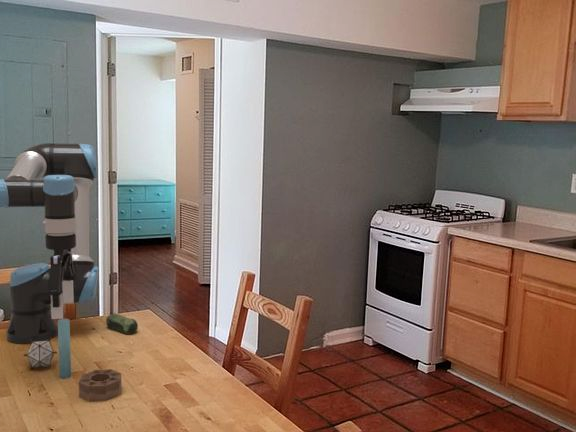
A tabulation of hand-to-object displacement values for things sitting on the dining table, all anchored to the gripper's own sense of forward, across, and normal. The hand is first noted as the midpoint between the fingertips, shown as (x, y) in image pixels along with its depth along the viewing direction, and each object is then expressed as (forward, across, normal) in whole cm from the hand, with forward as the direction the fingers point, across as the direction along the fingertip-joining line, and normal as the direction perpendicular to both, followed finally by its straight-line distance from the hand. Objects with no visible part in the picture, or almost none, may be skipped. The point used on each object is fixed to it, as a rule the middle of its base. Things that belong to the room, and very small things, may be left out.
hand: (63, 310), depth 154 cm
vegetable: (+19, -36, +11) cm, 42 cm away
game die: (+19, -7, -8) cm, 22 cm away
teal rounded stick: (+19, 0, 0) cm, 19 cm away
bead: (+19, +11, +11) cm, 24 cm away
